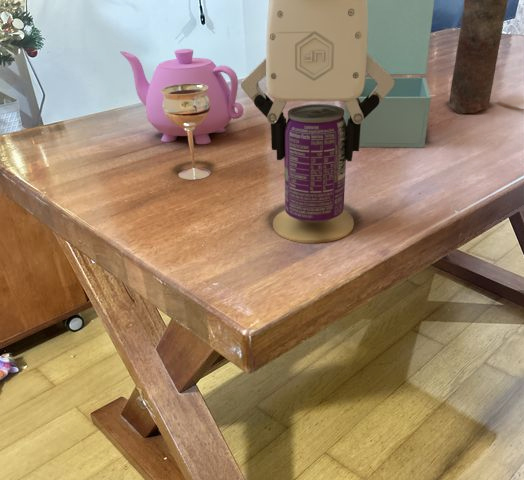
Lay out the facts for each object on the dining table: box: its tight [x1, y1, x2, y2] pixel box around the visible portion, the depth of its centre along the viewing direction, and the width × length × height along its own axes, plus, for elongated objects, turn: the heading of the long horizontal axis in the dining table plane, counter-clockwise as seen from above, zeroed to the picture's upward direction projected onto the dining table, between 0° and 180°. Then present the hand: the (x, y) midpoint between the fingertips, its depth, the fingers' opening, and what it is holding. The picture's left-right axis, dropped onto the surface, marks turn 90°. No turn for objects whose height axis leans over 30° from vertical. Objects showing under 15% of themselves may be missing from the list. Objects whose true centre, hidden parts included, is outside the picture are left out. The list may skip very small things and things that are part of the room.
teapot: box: [119, 48, 244, 145], centre depth 94 cm, size 22×16×14 cm
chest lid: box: [366, 0, 435, 76], centre depth 94 cm, size 15×13×4 cm
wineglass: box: [161, 83, 212, 181], centre depth 79 cm, size 7×7×12 cm
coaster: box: [272, 210, 355, 244], centre depth 67 cm, size 10×10×1 cm
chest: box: [343, 76, 432, 149], centre depth 92 cm, size 14×13×8 cm
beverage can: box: [283, 103, 347, 223], centre depth 63 cm, size 7×7×12 cm
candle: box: [448, 0, 509, 115], centre depth 98 cm, size 8×7×20 cm
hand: (315, 155), depth 62 cm, fingers closed on beverage can, 7 cm apart
